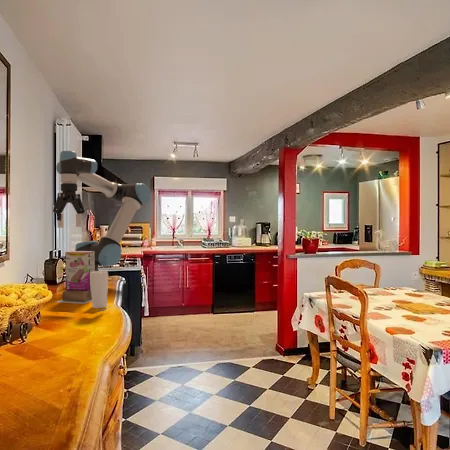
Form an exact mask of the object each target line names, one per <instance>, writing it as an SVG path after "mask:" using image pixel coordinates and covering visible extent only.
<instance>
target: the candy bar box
mask: <svg viewBox="0 0 450 450" xmlns="http://www.w3.org/2000/svg"><path fill="white" fill-rule="evenodd" d="M64 253H65V256H64V258H65V259H64V263H65V264H64V265H65V291H66V290H77V291H91V288H90V272H93V271H95V252H94V251H75V250H69V251H65V252H64Z"/></svg>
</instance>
